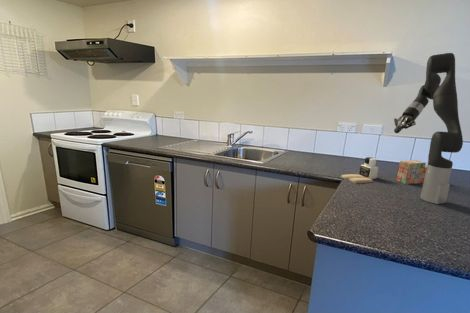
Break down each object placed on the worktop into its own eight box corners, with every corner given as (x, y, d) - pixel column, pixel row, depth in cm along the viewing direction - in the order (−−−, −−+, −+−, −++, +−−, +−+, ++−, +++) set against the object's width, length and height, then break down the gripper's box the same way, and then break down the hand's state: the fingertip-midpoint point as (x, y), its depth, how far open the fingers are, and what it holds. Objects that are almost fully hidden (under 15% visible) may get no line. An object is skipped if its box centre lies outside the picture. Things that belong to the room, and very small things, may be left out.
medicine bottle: (358, 175, 165) (361, 156, 163) (367, 174, 168) (370, 156, 165) (368, 179, 159) (371, 159, 156) (376, 178, 162) (380, 159, 159)
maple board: (372, 181, 155) (372, 179, 155) (356, 183, 151) (356, 181, 151) (356, 175, 166) (357, 173, 166) (341, 176, 162) (341, 174, 161)
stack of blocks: (424, 179, 165) (428, 159, 162) (433, 182, 159) (438, 162, 157) (395, 180, 160) (399, 160, 157) (404, 184, 154) (409, 163, 151)
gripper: (400, 105, 165) (383, 126, 162) (422, 107, 153) (404, 129, 151) (404, 114, 168) (387, 134, 166) (426, 116, 156) (408, 138, 154)
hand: (395, 132), depth 158 cm, fingers closed
